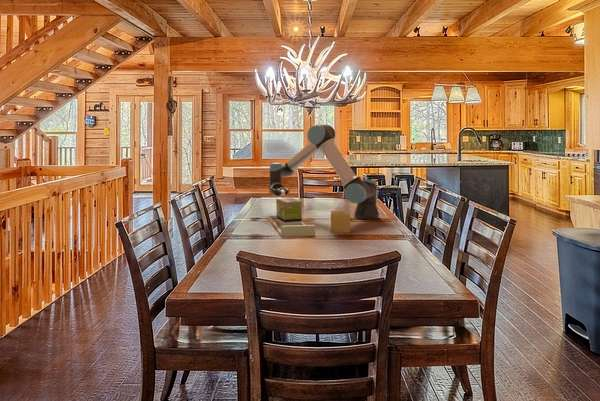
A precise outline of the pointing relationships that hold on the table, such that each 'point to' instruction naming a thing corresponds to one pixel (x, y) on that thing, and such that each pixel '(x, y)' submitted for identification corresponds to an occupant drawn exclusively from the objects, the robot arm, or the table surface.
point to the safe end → (297, 230)
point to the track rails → (276, 224)
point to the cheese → (340, 222)
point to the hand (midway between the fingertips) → (283, 193)
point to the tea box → (289, 212)
